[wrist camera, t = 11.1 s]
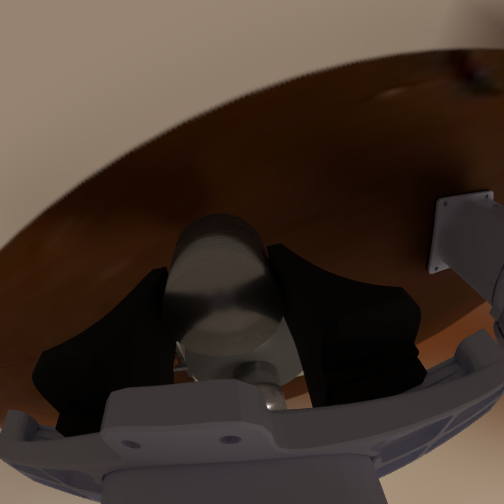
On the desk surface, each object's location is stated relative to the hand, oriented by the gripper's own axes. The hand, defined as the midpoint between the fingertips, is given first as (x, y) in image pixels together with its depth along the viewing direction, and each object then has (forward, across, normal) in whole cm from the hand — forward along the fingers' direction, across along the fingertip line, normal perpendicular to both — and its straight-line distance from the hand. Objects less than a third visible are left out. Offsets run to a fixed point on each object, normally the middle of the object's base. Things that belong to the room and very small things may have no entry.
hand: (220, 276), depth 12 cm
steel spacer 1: (+2, 0, 0) cm, 2 cm away
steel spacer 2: (+6, 0, +16) cm, 17 cm away
